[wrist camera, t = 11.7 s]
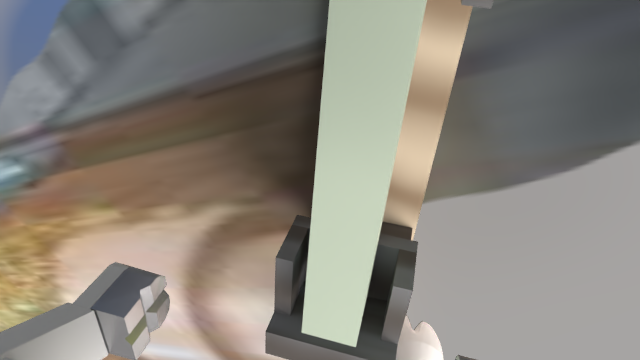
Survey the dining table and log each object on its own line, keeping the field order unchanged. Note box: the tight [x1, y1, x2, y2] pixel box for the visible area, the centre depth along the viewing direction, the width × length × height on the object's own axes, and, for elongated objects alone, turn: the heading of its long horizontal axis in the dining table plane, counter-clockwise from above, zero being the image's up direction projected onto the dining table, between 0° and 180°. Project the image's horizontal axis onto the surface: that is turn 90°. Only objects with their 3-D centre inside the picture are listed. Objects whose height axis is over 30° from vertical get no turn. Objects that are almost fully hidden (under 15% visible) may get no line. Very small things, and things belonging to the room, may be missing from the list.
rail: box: [302, 0, 427, 347], centre depth 20 cm, size 20×3×5 cm, turn 176°
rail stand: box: [266, 0, 494, 360], centre depth 24 cm, size 29×8×14 cm, turn 176°
